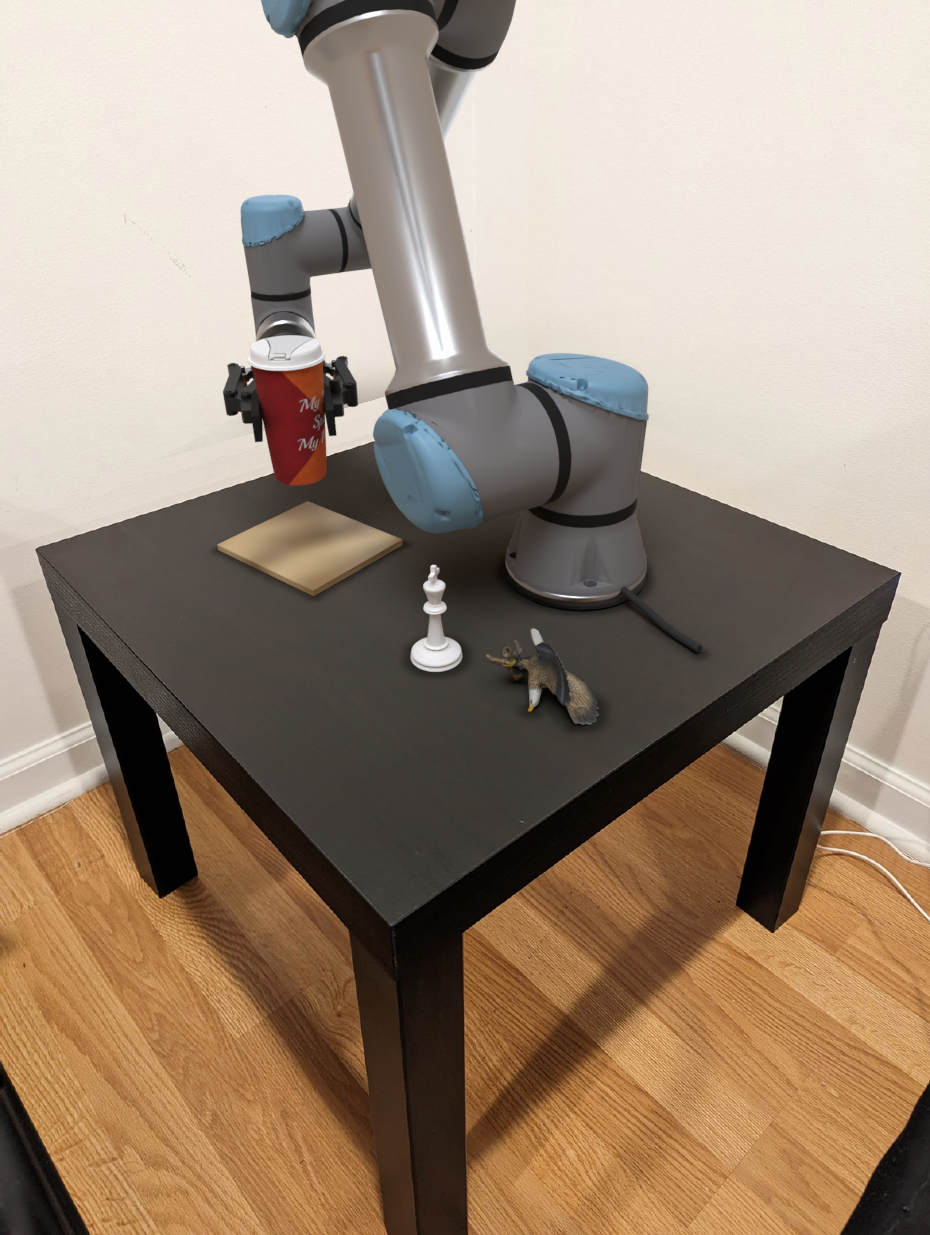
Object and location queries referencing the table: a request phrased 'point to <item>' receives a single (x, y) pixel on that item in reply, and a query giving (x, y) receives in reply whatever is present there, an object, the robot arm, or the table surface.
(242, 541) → the birch board
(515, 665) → the eagle figurine
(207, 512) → the table surface
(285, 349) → the paper cup
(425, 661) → the chess piece
